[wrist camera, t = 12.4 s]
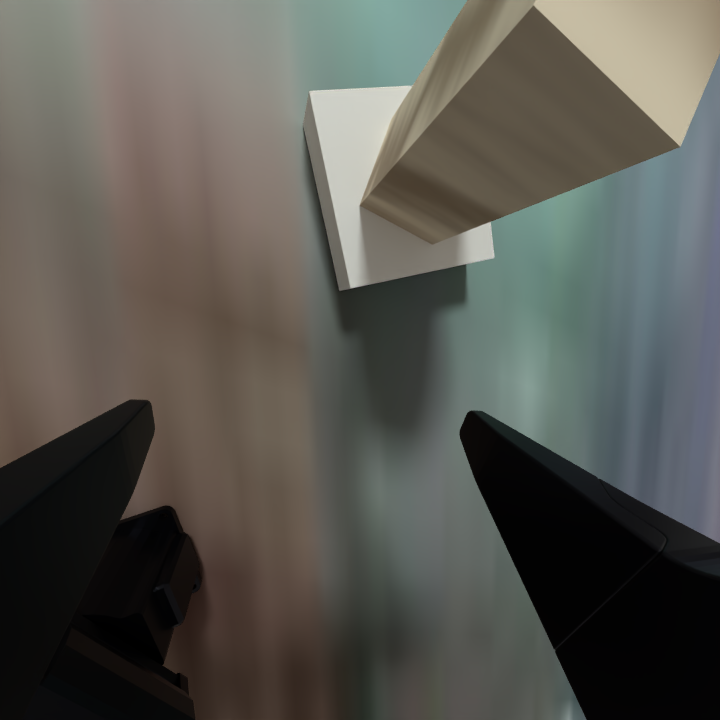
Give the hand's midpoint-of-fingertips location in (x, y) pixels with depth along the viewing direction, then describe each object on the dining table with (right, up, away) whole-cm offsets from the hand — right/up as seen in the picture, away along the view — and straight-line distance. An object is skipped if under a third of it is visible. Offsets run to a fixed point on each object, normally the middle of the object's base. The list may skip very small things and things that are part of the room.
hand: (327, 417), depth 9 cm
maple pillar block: (+4, +12, +9) cm, 15 cm away
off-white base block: (+3, +12, +12) cm, 17 cm away
